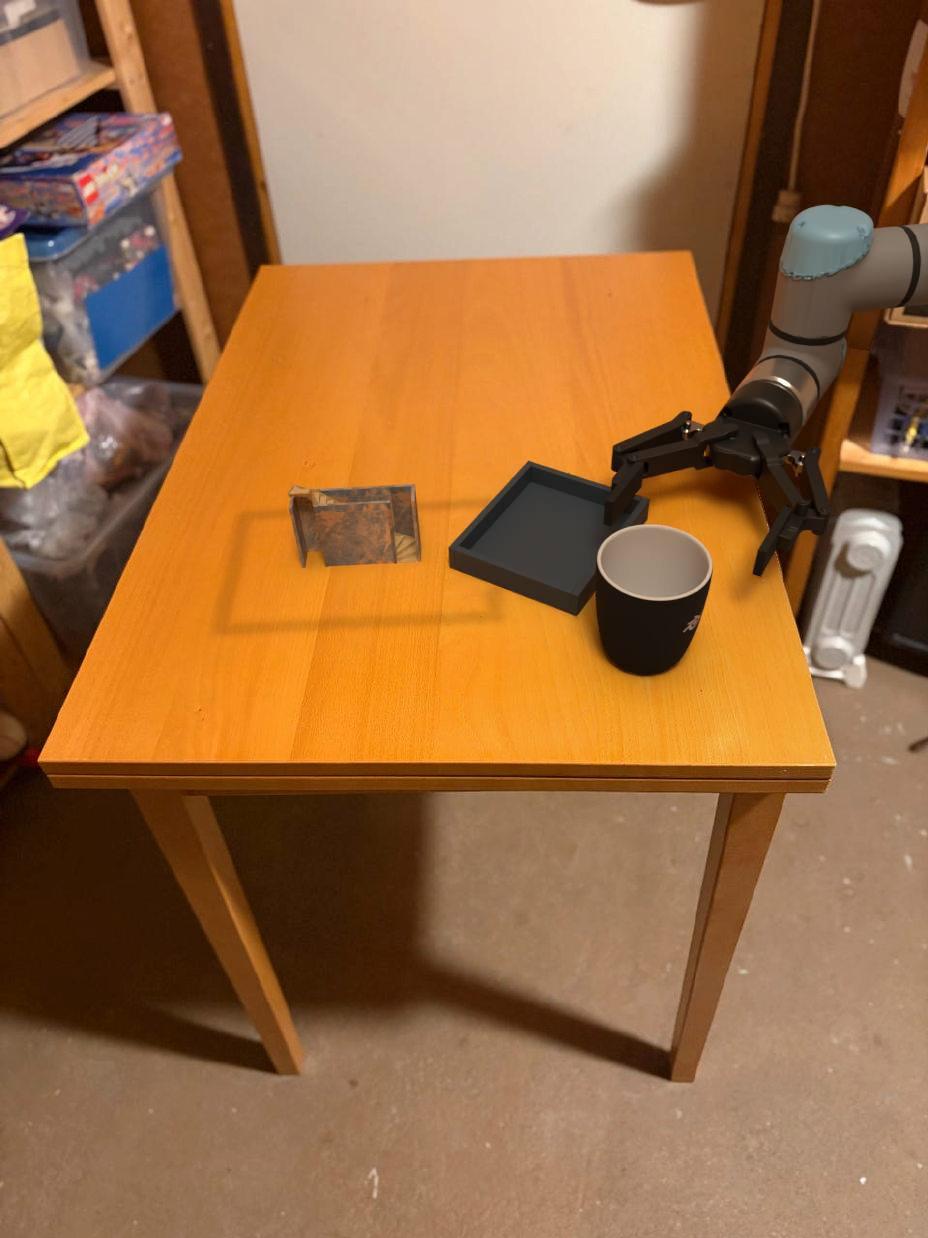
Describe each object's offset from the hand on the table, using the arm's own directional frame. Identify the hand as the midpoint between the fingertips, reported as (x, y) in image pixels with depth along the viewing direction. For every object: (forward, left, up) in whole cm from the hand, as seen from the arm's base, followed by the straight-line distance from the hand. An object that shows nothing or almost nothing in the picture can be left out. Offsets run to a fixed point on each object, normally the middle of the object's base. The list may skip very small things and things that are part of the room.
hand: (680, 537), depth 79 cm
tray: (+13, -1, -7) cm, 15 cm away
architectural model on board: (+28, +9, -8) cm, 30 cm away
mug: (0, +6, -7) cm, 9 cm away
